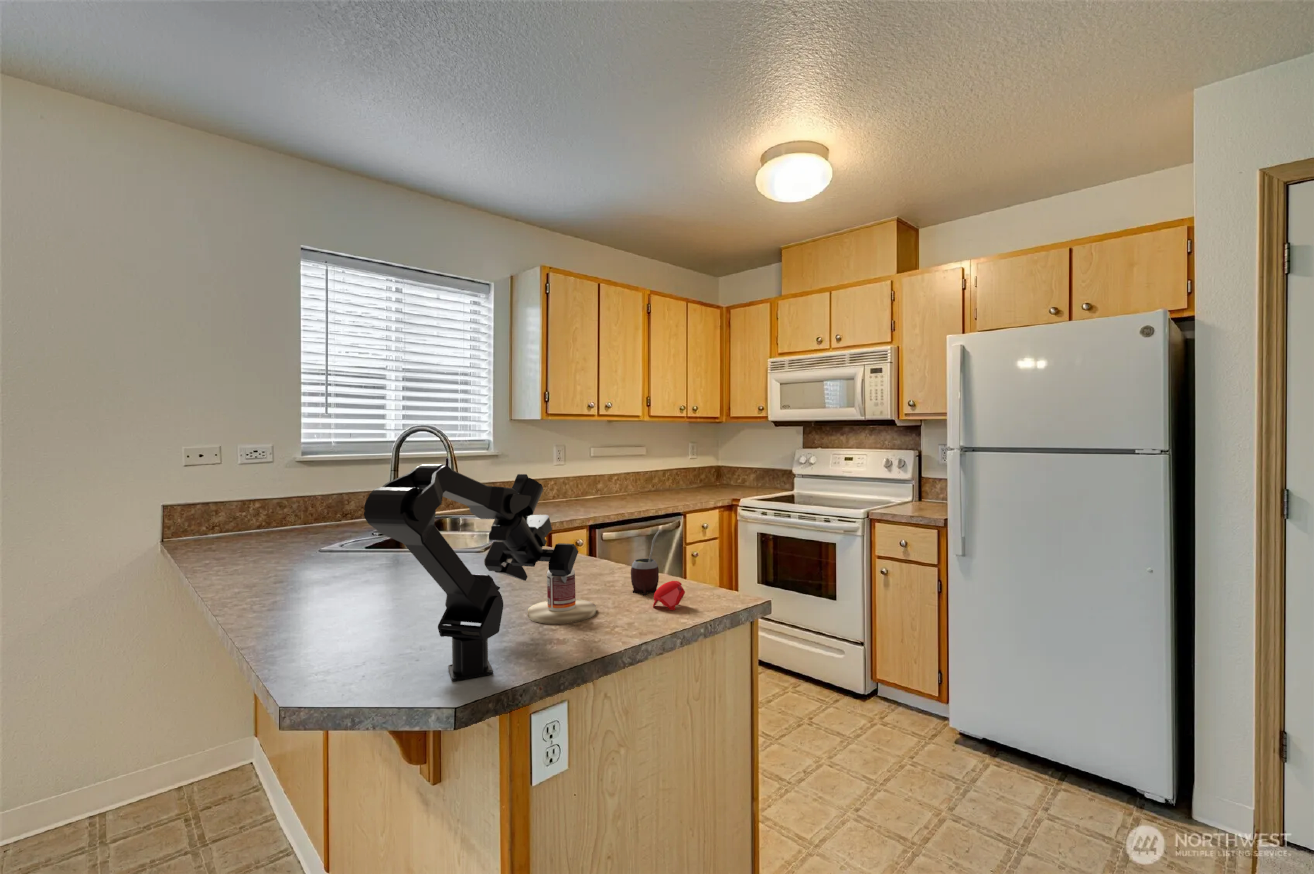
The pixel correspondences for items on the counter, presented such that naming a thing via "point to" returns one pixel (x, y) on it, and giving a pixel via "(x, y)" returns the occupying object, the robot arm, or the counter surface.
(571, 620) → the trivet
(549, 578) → the pill bottle
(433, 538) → the robot arm
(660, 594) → the cap
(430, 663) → the counter surface
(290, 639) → the counter surface
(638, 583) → the mate gourd
